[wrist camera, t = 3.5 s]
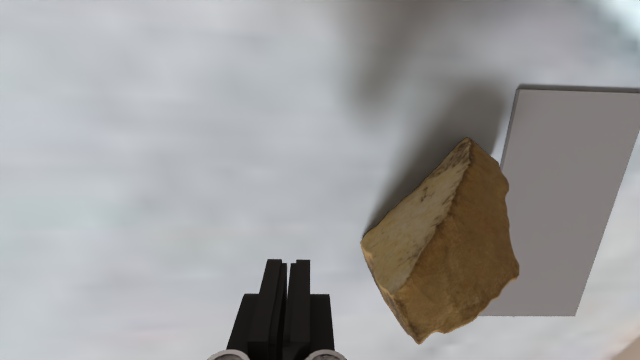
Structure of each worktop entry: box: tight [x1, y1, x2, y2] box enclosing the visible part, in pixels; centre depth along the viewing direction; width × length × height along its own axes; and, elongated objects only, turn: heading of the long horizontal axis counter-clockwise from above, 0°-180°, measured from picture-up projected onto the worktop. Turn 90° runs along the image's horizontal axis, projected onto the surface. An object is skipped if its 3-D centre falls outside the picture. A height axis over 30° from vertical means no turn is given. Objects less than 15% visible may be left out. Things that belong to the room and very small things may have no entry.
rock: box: [360, 138, 520, 344], centre depth 17 cm, size 11×9×10 cm
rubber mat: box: [478, 89, 640, 316], centre depth 20 cm, size 8×16×1 cm, turn 178°
